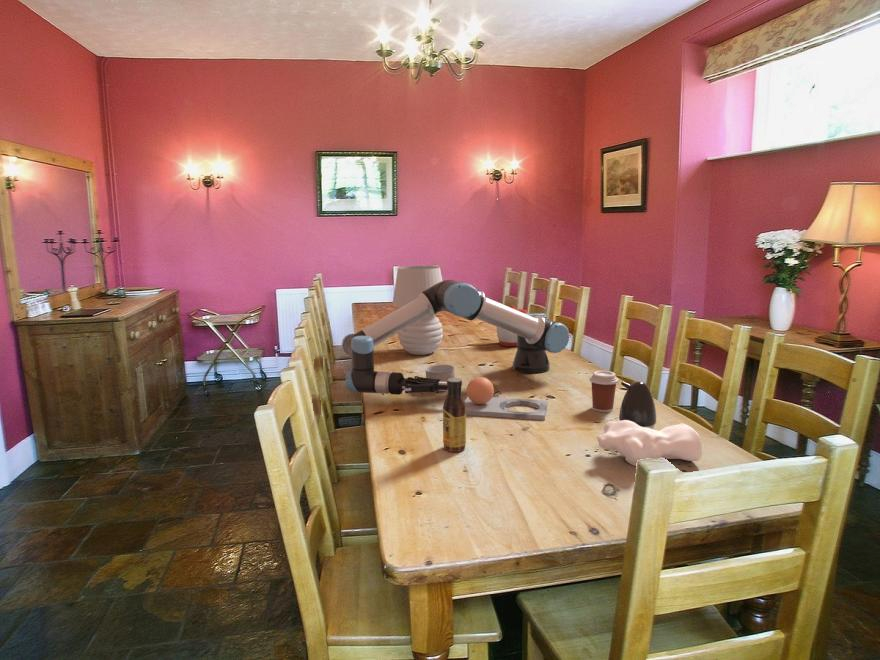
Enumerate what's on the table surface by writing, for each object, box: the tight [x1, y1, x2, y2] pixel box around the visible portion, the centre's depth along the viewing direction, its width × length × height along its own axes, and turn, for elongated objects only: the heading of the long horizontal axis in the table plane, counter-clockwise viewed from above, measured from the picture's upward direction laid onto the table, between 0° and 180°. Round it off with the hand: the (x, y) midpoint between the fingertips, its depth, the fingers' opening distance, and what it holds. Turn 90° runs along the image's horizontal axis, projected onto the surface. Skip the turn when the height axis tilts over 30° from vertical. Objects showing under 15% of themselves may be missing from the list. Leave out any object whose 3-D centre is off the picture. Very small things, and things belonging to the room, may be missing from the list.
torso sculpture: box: [596, 420, 703, 467], centre depth 146 cm, size 18×10×25 cm
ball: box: [466, 376, 495, 404], centre depth 188 cm, size 9×9×9 cm
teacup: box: [424, 363, 456, 392], centre depth 212 cm, size 14×11×8 cm
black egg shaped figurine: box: [618, 381, 657, 430], centre depth 164 cm, size 10×10×15 cm
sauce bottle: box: [442, 377, 467, 453], centre depth 154 cm, size 6×6×20 cm
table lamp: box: [392, 265, 444, 356], centre depth 265 cm, size 25×25×40 cm
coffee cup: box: [588, 370, 620, 413], centre depth 185 cm, size 9×9×12 cm
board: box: [464, 396, 548, 421], centre depth 187 cm, size 27×15×2 cm, turn 76°
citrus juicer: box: [496, 304, 529, 347], centre depth 280 cm, size 16×17×20 cm
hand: (457, 387), depth 189 cm, fingers closed
